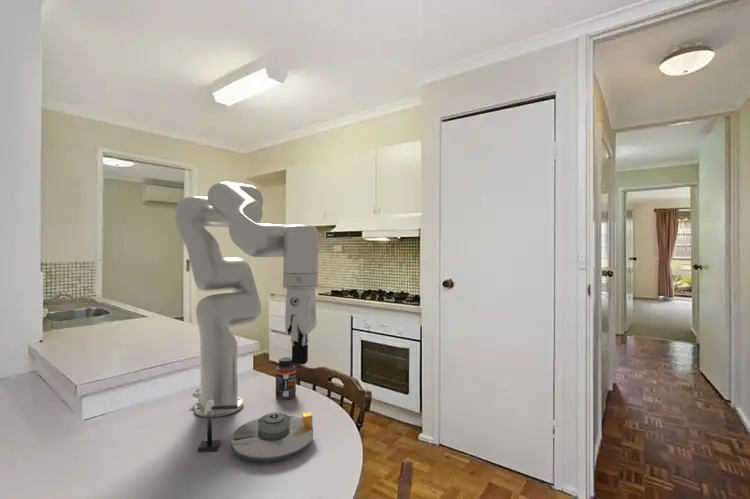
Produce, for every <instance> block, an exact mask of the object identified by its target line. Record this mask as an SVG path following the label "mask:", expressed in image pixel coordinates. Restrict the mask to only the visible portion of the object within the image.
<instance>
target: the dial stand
mask: <svg viewBox="0 0 750 499" xmlns="http://www.w3.org/2000/svg"><path fill="white" fill-rule="evenodd" d="M237 408H238V405H224V406H215V404H214V400H213V399H208V400H206V402H205V406H204V416H205V417H204V418H206V440H201V442H200V443H199V445H198V447H197V453H205V452H206V453H207V452H218V450H219V448H220V446H221V444H222V440H221V439H213V420H212V419H213V417H212V415H213V413H214V410H219V409H237Z"/></svg>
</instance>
